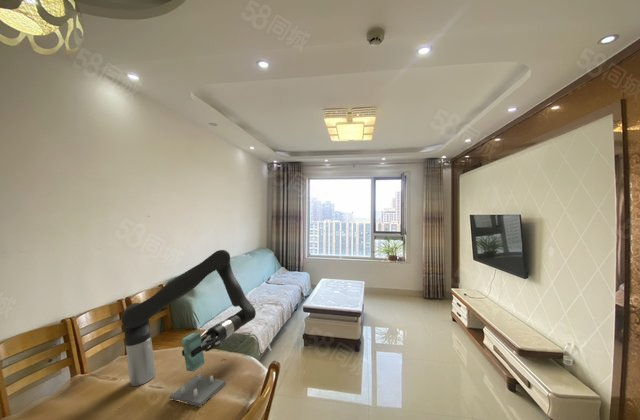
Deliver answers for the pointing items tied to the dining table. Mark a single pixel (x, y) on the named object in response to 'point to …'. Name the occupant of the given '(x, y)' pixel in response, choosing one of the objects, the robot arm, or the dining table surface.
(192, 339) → the teal post
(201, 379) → the peg plate
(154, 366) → the robot arm
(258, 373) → the dining table surface
